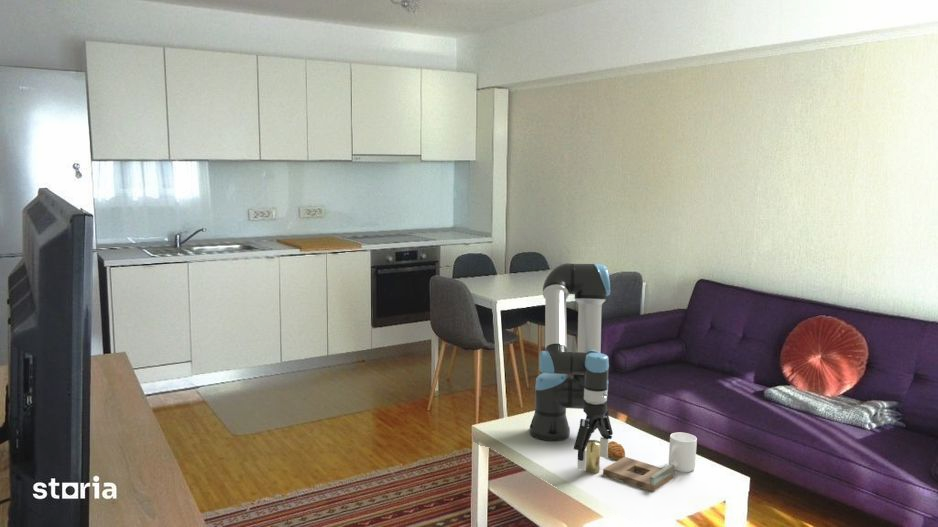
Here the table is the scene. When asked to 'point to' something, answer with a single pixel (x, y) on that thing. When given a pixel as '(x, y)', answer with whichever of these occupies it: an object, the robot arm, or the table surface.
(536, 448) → the table surface
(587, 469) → the brass cylinder rod
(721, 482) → the table surface
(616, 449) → the pastry
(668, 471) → the jig
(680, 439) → the mug
